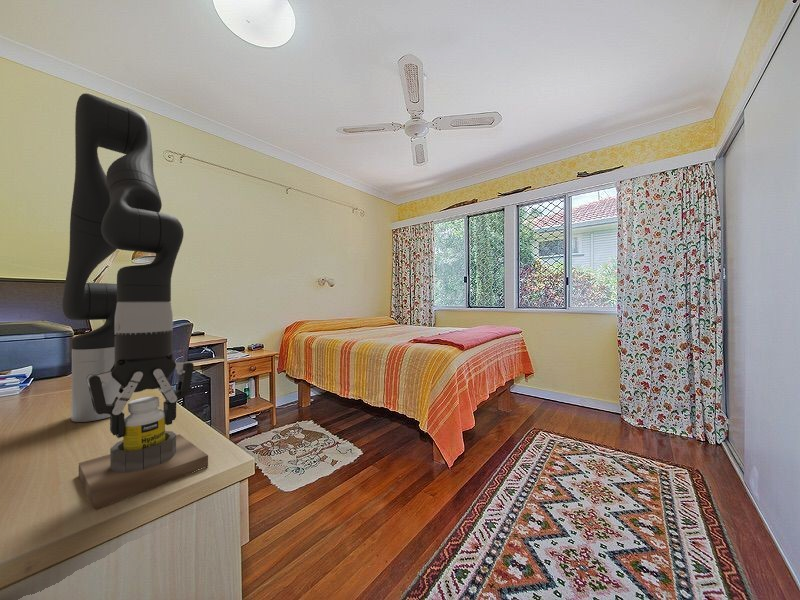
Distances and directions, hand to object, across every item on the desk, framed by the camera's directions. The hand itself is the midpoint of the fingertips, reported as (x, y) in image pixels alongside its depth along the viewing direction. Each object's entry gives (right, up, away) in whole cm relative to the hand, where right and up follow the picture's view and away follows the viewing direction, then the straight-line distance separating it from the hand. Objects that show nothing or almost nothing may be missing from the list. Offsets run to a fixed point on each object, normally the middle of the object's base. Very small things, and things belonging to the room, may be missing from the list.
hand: (144, 429), depth 52 cm
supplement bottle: (0, -5, 0) cm, 5 cm away
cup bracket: (0, -7, 0) cm, 7 cm away
